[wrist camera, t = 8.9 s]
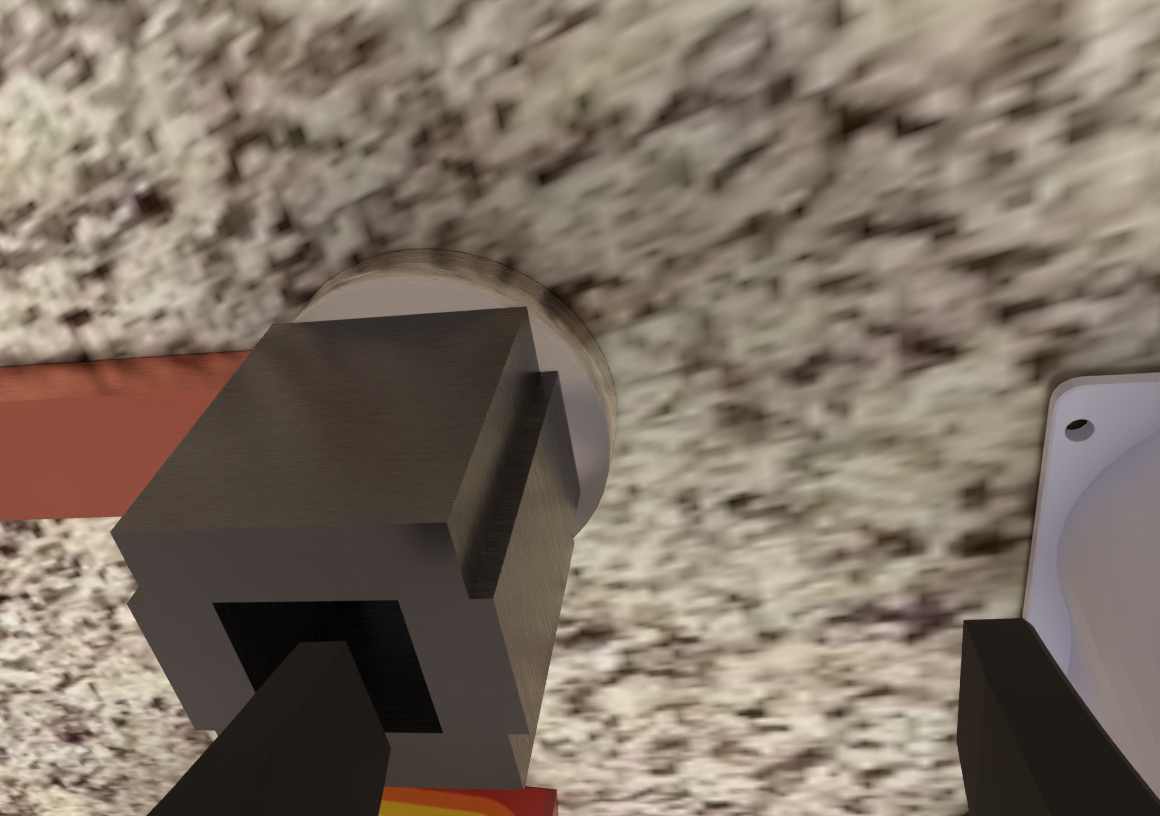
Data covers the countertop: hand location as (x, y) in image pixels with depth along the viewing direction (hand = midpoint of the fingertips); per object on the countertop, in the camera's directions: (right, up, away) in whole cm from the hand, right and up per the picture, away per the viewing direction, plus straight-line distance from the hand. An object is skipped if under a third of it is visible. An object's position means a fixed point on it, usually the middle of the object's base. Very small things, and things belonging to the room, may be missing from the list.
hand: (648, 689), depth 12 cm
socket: (-4, +3, +8) cm, 10 cm away
